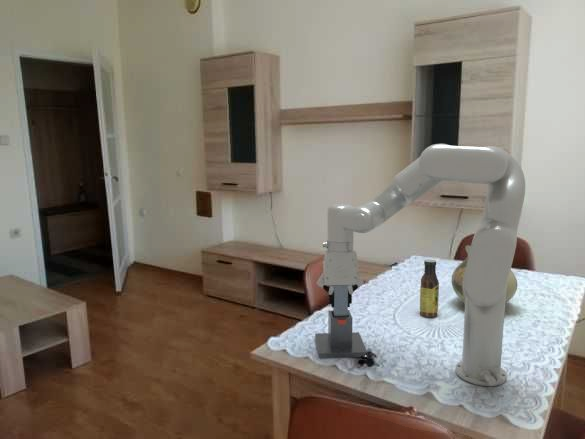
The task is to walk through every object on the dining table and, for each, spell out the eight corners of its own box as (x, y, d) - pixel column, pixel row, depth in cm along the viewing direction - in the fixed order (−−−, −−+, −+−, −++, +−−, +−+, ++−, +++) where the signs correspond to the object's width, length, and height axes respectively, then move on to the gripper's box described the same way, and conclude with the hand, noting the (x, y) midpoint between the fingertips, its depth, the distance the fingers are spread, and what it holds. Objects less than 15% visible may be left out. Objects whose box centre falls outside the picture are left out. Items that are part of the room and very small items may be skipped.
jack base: (367, 356, 135) (367, 322, 134) (319, 358, 135) (318, 323, 133) (358, 336, 149) (359, 305, 147) (315, 337, 149) (314, 306, 147)
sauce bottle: (438, 318, 163) (440, 263, 160) (420, 317, 164) (422, 262, 161) (436, 312, 169) (439, 258, 166) (419, 311, 171) (420, 258, 167)
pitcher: (475, 321, 160) (479, 250, 156) (436, 299, 183) (439, 236, 179) (529, 314, 166) (535, 246, 162) (485, 294, 189) (489, 233, 185)
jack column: (347, 344, 140) (348, 273, 136) (333, 345, 140) (334, 274, 136) (345, 339, 144) (346, 269, 140) (332, 339, 144) (332, 270, 140)
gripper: (312, 249, 133) (313, 311, 136) (371, 248, 133) (370, 309, 136) (310, 244, 140) (311, 302, 143) (366, 242, 141) (365, 301, 144)
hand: (340, 305), depth 140 cm, fingers closed on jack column, 4 cm apart
